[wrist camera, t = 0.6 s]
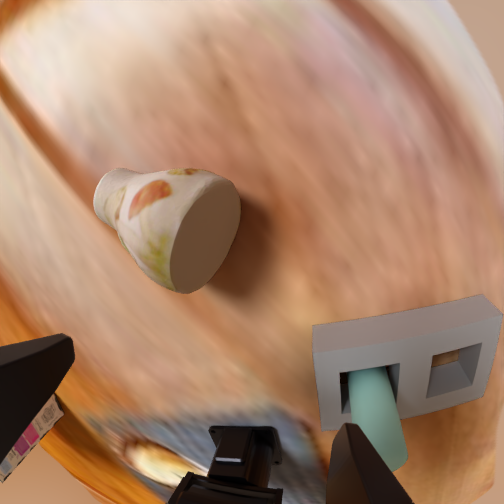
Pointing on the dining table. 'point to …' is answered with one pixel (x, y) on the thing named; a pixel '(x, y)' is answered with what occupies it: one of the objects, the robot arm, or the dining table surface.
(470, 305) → the block
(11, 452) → the candy bar box
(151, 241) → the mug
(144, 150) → the dining table surface
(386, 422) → the peg
